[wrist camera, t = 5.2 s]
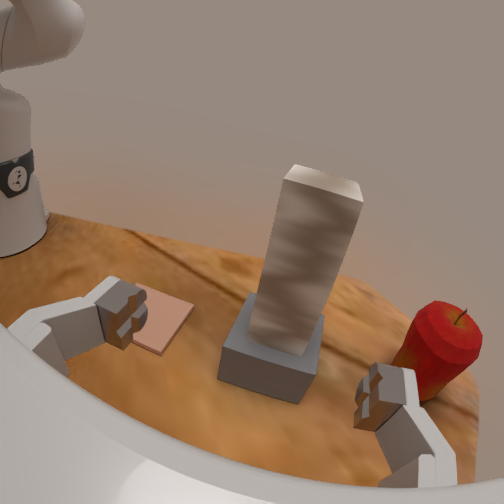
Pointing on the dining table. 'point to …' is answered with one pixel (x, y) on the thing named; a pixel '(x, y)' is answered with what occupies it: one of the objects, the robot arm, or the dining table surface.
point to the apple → (439, 346)
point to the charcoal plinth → (267, 361)
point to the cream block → (303, 257)
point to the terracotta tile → (161, 320)
